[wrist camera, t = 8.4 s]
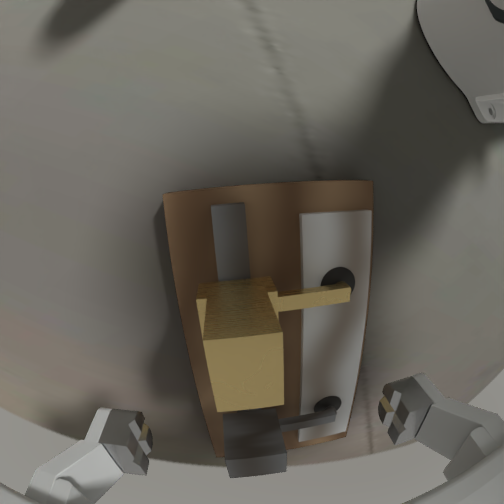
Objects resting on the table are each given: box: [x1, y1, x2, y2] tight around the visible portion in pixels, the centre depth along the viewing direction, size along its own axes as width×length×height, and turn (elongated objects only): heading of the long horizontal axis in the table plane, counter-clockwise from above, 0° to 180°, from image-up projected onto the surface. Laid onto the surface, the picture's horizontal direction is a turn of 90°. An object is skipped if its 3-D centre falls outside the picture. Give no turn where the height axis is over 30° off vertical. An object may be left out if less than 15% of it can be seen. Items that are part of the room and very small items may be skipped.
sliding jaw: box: [196, 276, 351, 412], centre depth 15 cm, size 10×4×8 cm, turn 94°
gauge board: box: [163, 180, 373, 478], centre depth 19 cm, size 14×26×8 cm, turn 4°
